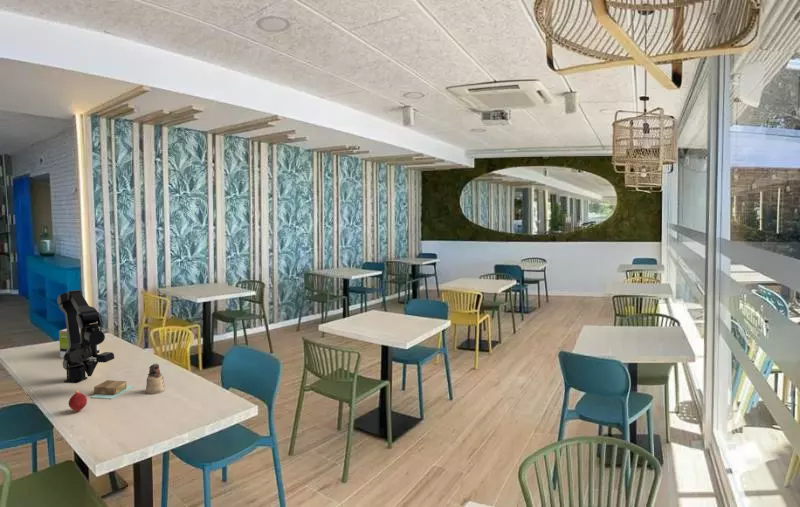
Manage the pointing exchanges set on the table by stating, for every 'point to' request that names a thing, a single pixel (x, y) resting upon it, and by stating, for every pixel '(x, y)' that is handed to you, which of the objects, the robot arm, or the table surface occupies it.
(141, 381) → the table surface
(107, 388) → the menu stand
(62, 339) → the tea box
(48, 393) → the table surface
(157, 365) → the figurine
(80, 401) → the onion
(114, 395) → the mat
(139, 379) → the table surface
